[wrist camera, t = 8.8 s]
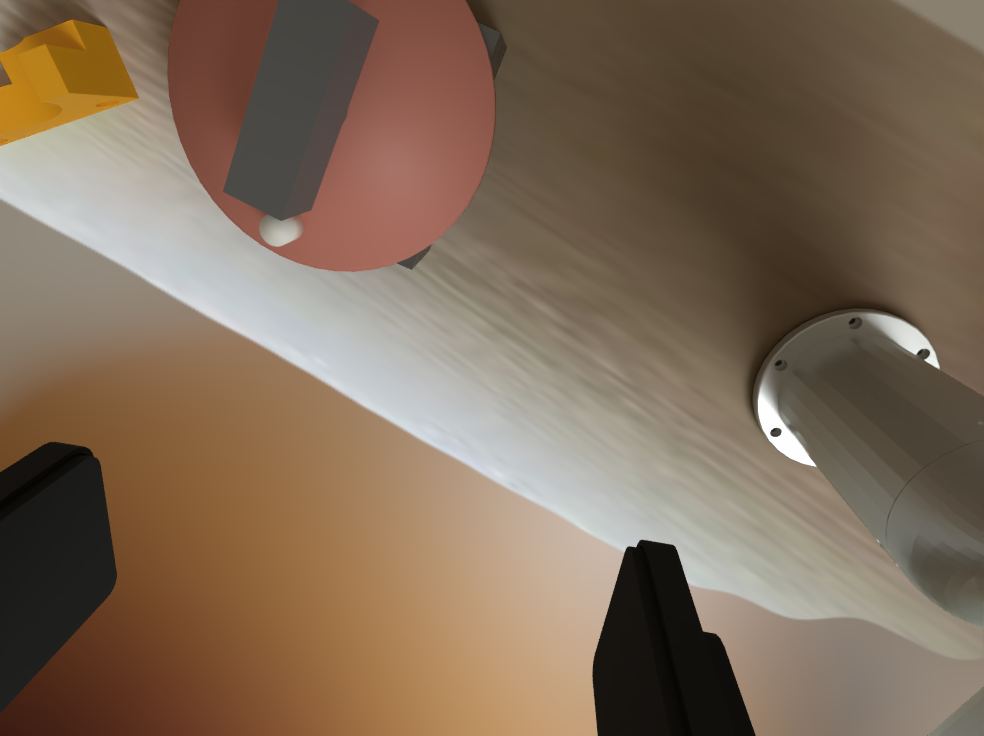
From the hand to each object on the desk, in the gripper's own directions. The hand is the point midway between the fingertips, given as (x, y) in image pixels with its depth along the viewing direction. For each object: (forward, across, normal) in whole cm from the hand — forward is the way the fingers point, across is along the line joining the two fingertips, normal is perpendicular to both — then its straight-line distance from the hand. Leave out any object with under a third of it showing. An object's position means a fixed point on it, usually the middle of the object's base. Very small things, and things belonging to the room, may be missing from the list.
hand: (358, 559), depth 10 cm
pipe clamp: (+34, +32, -5) cm, 47 cm away
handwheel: (+27, +10, -7) cm, 29 cm away
